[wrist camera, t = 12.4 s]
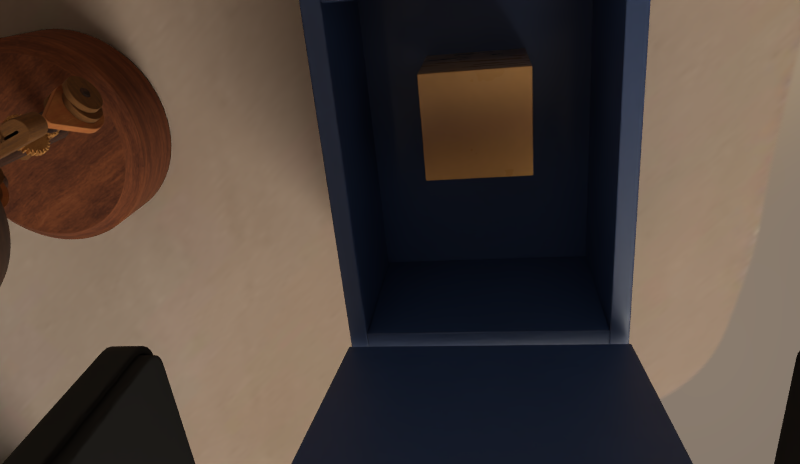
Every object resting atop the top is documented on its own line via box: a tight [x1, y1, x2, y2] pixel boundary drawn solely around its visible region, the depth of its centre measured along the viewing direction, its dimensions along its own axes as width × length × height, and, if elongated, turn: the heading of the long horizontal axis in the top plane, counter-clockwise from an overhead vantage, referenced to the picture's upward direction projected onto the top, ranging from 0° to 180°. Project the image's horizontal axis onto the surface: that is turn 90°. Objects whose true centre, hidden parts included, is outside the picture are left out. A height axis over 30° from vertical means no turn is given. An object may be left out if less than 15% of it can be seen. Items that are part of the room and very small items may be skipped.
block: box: [417, 48, 533, 181], centre depth 28 cm, size 5×5×5 cm
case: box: [299, 0, 650, 347], centre depth 28 cm, size 16×12×8 cm
